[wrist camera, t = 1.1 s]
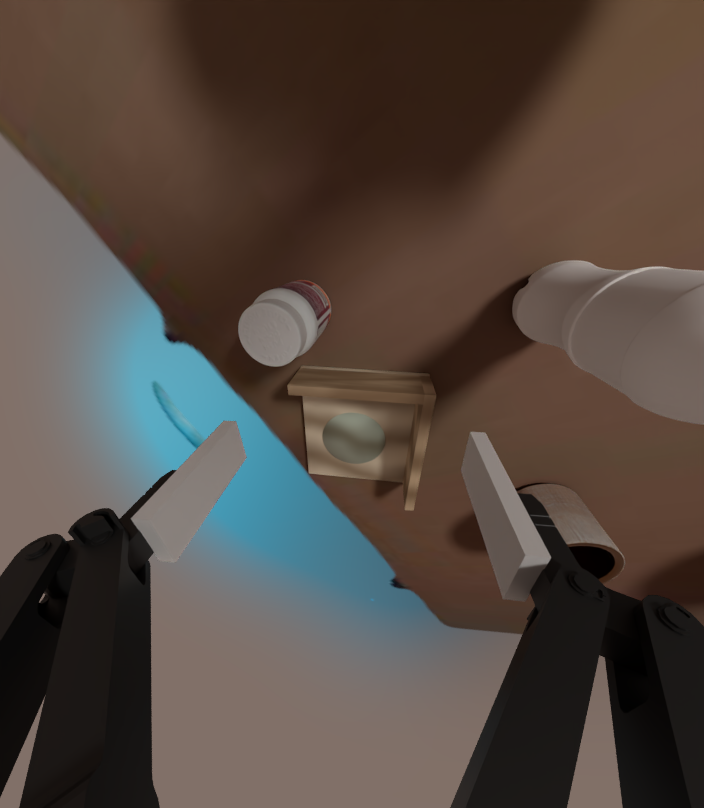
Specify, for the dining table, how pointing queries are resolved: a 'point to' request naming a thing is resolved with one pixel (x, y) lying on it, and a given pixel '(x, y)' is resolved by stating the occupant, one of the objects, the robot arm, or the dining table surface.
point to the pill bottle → (284, 322)
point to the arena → (366, 423)
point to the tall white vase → (624, 329)
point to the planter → (579, 530)
